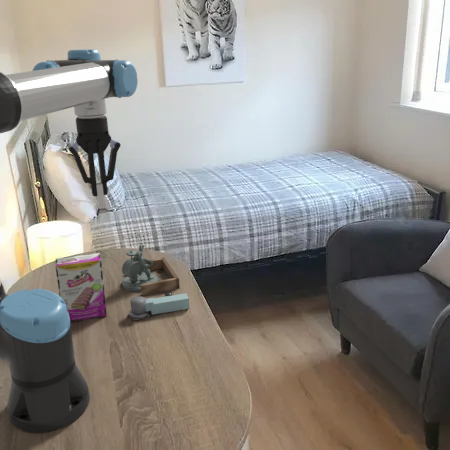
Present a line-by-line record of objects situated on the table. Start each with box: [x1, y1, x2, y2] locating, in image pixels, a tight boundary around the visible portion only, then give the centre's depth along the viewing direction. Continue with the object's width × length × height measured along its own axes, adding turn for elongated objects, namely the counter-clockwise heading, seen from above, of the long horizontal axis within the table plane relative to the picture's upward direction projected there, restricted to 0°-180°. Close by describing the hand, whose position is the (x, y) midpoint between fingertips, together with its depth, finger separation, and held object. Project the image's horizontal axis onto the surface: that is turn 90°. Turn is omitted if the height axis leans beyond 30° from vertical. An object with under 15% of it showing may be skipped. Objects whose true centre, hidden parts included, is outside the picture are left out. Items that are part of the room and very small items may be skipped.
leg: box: [130, 293, 190, 315], centre depth 131 cm, size 4×15×4 cm, turn 106°
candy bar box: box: [55, 252, 108, 323], centre depth 128 cm, size 11×5×16 cm, turn 108°
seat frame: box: [140, 257, 181, 296], centre depth 149 cm, size 11×16×3 cm
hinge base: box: [129, 291, 173, 321], centre depth 132 cm, size 12×7×2 cm, turn 112°
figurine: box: [121, 244, 160, 293], centre depth 145 cm, size 11×11×12 cm
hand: (101, 207), depth 131 cm, fingers closed
